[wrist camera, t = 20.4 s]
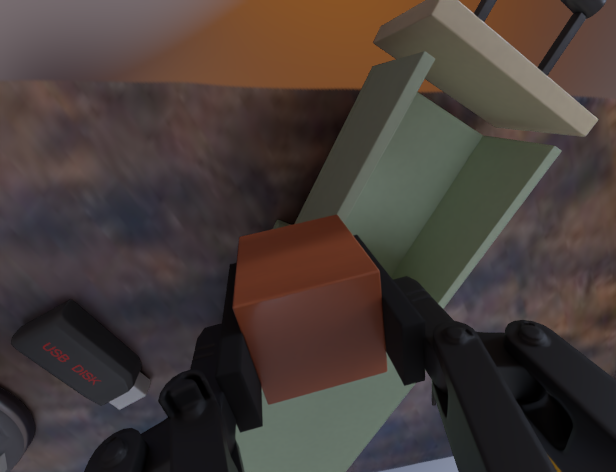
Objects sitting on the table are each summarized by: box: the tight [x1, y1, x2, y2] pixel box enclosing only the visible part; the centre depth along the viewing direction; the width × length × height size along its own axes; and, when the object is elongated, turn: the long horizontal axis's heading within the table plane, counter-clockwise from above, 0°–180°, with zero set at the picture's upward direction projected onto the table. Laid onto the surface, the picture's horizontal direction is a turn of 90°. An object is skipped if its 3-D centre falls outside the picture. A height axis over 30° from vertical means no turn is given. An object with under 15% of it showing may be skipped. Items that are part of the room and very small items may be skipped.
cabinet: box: [235, 220, 426, 472], centre depth 28 cm, size 20×15×10 cm
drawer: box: [295, 0, 606, 309], centre depth 22 cm, size 25×13×8 cm, turn 153°
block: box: [232, 215, 388, 405], centre depth 13 cm, size 5×5×6 cm
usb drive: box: [11, 300, 151, 410], centre depth 28 cm, size 5×12×3 cm, turn 26°
